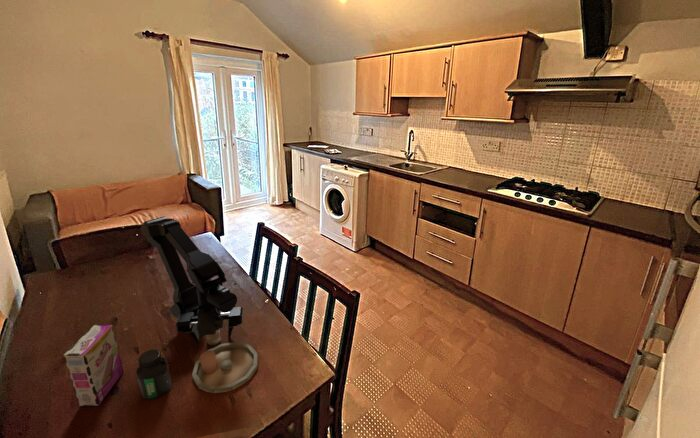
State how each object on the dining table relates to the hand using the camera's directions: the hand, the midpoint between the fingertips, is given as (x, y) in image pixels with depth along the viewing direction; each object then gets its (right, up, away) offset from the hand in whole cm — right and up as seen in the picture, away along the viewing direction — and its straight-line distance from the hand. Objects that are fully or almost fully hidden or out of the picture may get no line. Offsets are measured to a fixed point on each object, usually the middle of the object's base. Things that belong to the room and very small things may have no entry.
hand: (214, 340), depth 103 cm
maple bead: (0, -1, 0) cm, 1 cm away
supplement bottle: (-8, -7, -17) cm, 20 cm away
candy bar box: (-22, -7, -17) cm, 29 cm away
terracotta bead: (+3, -4, -11) cm, 12 cm away
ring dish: (+8, -5, -9) cm, 13 cm away
